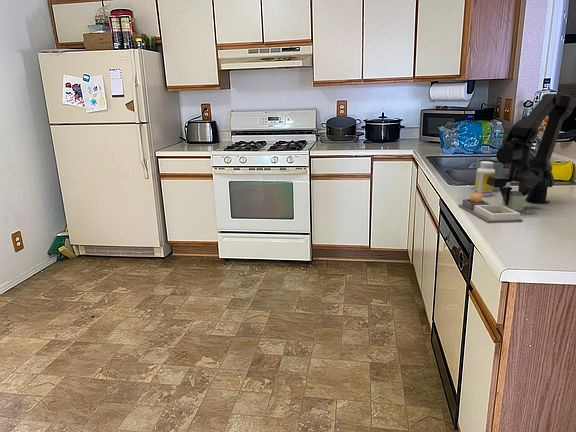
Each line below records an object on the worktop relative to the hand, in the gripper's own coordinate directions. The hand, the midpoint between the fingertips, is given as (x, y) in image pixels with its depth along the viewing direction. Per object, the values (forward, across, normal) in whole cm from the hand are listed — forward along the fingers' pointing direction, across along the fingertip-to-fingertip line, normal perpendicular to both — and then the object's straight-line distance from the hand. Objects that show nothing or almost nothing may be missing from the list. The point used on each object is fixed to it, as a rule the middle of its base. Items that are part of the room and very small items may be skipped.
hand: (512, 205), depth 156 cm
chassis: (+1, -12, -6) cm, 14 cm away
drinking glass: (+1, +6, +28) cm, 29 cm away
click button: (-1, -14, 0) cm, 14 cm away
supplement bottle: (+1, 0, +20) cm, 20 cm away
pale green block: (+1, 0, 0) cm, 1 cm away
